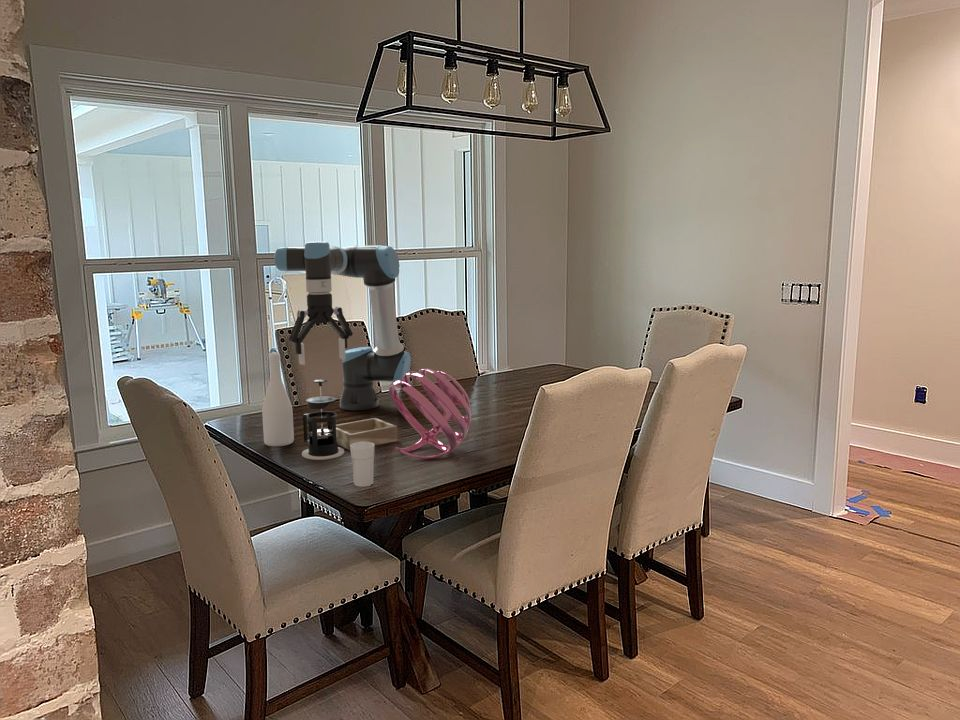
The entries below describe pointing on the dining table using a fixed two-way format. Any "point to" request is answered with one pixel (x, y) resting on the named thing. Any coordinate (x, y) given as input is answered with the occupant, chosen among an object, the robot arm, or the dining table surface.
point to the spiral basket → (433, 410)
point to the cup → (362, 463)
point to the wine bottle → (277, 408)
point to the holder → (365, 432)
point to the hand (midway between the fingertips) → (322, 361)
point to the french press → (322, 444)
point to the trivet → (307, 456)
